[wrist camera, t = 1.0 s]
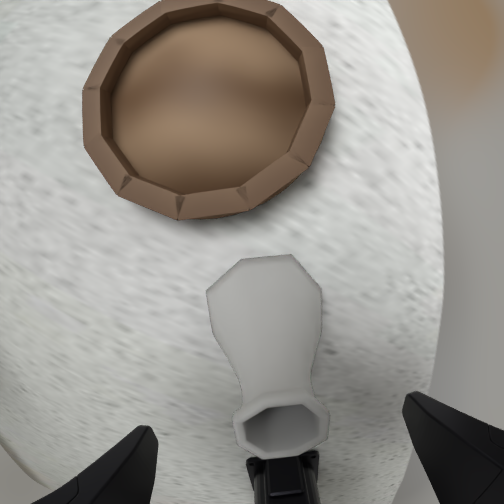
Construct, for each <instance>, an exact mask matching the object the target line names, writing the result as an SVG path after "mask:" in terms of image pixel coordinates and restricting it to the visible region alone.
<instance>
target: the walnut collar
mask: <svg viewBox="0 0 504 504" xmlns="http://www.w3.org/2000/svg"><path fill="white" fill-rule="evenodd" d="M111 37H112V38H111ZM111 37H110V38H109V40H108V42H107V43H106V45H105V47H104V49H103V50H102V52H101V54H100V56H99V58H98V59H97V61H96V63H95V65H94V67H93V69H92V71H91V73H90V75H89V77H88V79H87V81H86V83H85V85H84V87H83V89H84V90H82V117H83V142H84V146H85V147H84V148H85V150H86V151H87V153H88V154H89V156H90V157H91V159H92V160H93V162H94V163H95V165H96V166H97V168H98V169H99V171H100V172H101V173H102V175H103V176H104V178H105V179H106V181H107V182H108V184H109V185H110V186H111V188H112V189H113V191H114V192H115V194H116V195H118V196H119V197H122V198H124V199H126V200H129V201H131V202H134V203H136V204H139V205H141V206H143V207H146V208H148V209H151V210H153V211H156V212H158V213H160V214H163V215H165V216H168V217H170V218H173V219H175V220H185V219H213V218H221V217H226V216H231V215H235V214H238V213H241V212H244V211H249V210H252V209H253V208H255V207H257V206H259V205H261V204H263V203H265V202H267V201H268V200H270V199H272V198H273V197H275V196H276V195H278V194H279V193H281V192H282V191H283V190H284V189H286V188H287V187H288V186H289V185H290V184H292V183H293V182H294V181H295V180H296V179H297V177H298V176H299V175H300V174H301V173H302V172H304V171H305V170H306V169H308V168H309V167H310V165H311V162H312V160H313V158H314V155H315V153H316V151H317V150H318V148H319V146H320V144H321V141H322V138H323V136H324V133H325V130H326V127H327V125H328V122H329V120H330V118H331V115H332V113H333V111H334V108H335V100H334V95H333V89H332V84H331V79H330V74H329V70H328V65H327V60H326V56H325V52H324V47H322V45H321V43H320V42H319V41H318V40H317V39H316V38H315V37H314V36H313V35H312V34H311V33H310V32H309V31H308V30H307V29H306V28H305V27H304V26H303V25H302V24H301V23H300V22H299V21H298V20H297V19H296V18H295V17H294V16H293V15H292V14H291V13H289V12H288V11H287V10H286V9H285V8H284V7H283V6H282V5H281V6H280V4H277V3H274V2H271V1H268V0H161V2H160V1H159V2H157V3H156V4H154V5H153V6H151V7H150V8H148V9H147V10H145V11H144V12H142V13H141V14H140V15H138V16H137V17H135V18H134V19H133V20H131V21H130V22H129V23H127V24H126V25H125V26H123V27H122V28H121V29H119V30H118V31H117V32H116V33H114V34H113V35H112V36H111Z"/></svg>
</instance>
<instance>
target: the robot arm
mask: <svg viewBox="0 0 504 504" xmlns="http://www.w3.org/2000/svg"><path fill="white" fill-rule="evenodd" d="M402 414H403V417H404V420H405V423H406V426H407V429H408V431H409V434H410V437H411V440H412V443H413V446H414V448H415V450H416V453H417V455H418V456H419V459H420V461H421V463H422V465H423V467H424V469H425V472H426V474H427V476H428V478H429V480H430V482H431V485H432V487H433V489H434V491H435V493H436V496H437V498H438V500H439V503H440V504H504V430H501V429H499V428H496V427H494V426H492V425H488V424H487V423H484V422H482V421H480V420H477V419H475V418H473V417H471V416H469V415H467V414H465V413H462V412H460V411H458V410H456V409H454V408H452V407H450V406H447V405H445V404H443V403H441V402H439V401H437V400H435V399H433V398H431V397H429V396H427V395H425V394H423V393H421V392H418V391H414V392H411V393H408V394H407V395H406V397H405V401H404V405H403V409H402ZM157 454H158V440H157V438H156V436H155V434H154V432H153V430H152V428H151V427H150V426H146V425H139V426H137V427H136V428H135V429H134V430H133V431H132V432H130V433H129V434H128V435H127V436H126V437H124V438H123V439H122V440H121V441H120V442H118V443H117V444H116V445H115V446H113V447H112V448H111V449H110V450H109V451H107V452H106V453H105V454H104V455H102V456H101V457H100V458H99V459H97V460H96V461H95V462H94V463H92V464H91V465H90V466H88V467H87V468H86V469H85V470H83V471H82V472H81V473H79V474H78V475H77V476H75V477H74V478H73V479H71V480H70V481H69V482H67V483H66V484H64V485H63V486H62V487H60V488H58V489H57V490H55V491H53V492H52V493H50V494H48V495H47V496H45V497H43V498H41V499H39V500H37V501H35V502H33V503H32V504H150V499H151V495H152V490H153V486H154V481H155V474H156V464H157ZM318 463H319V454H318V452H317V451H310V452H304V453H302V454H300V455H298V456H292V457H283V458H273V459H261V458H251V459H247V460H246V466H247V470H248V473H249V477H250V480H251V484H252V487H253V490H254V498H255V504H321V503H320V498H319V493H318V488H317V477H318Z"/></svg>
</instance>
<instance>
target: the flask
mask: <svg viewBox="0 0 504 504" xmlns="http://www.w3.org/2000/svg"><path fill="white" fill-rule="evenodd" d="M206 296H207V302H208V308H209V314H210V320H211V326H212V332H213V335H214V337H215V339H216V340H217V342H218V344H219V345H220V347H221V348H222V350H223V352H224V353H225V355H226V357H227V359H228V361H229V362H230V364H231V366H232V368H233V370H234V372H235V374H236V376H237V377H238V379H239V382H240V386H241V390H242V406H241V408H240V409H238V410H236V411H235V412H234V414H233V416H232V422H233V427H234V432H235V436H236V441H237V445H238V446H240V447H242V448H243V449H245V450H247V451H248V452H250V453H252V454H254V455H255V456H257V457H259V458H261V459H273V458H283V457H292V456H298V455H300V454H302V453H304V452H306V451H308V450H310V449H311V448H313V447H315V446H317V445H318V444H320V443H322V442H324V441H325V440H327V439H328V431H329V422H330V413H329V410H328V409H327V408H326V407H325V406H324V405H323V404H322V403H320V402H319V401H318V400H317V399H315V395H314V391H313V388H312V384H311V370H312V365H313V361H314V357H315V352H316V349H317V346H318V342H319V339H320V336H321V331H322V300H321V288H320V286H319V285H318V284H317V283H316V282H315V281H314V280H313V278H312V277H311V276H310V275H309V274H308V273H307V272H306V270H305V269H304V268H303V267H302V266H301V265H300V264H299V263H298V261H297V260H296V259H295V258H294V257H293V256H292V255H291V254H289V255H278V256H268V257H258V258H247V259H241V260H240V261H238V262H237V263H236V264H235V265H234V266H233V267H232V268H231V269H230V270H228V271H227V272H226V273H225V274H224V275H223V276H222V277H221V278H219V279H218V280H217V281H216V282H215V283H214V284H213V285H212V286H211V287H209V288H208V289H207V290H206Z"/></svg>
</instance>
